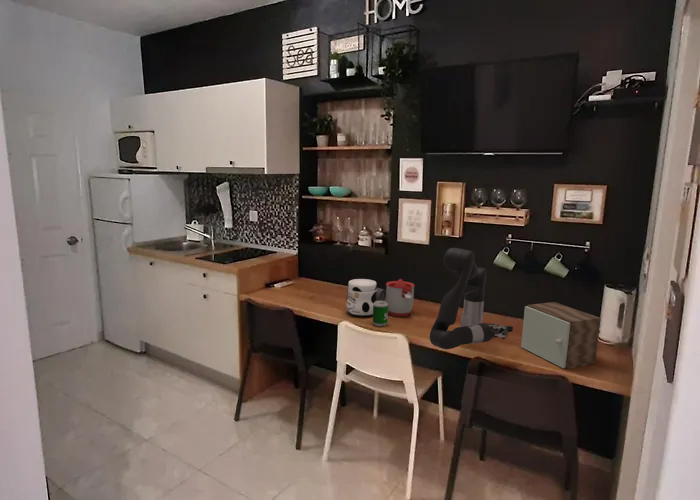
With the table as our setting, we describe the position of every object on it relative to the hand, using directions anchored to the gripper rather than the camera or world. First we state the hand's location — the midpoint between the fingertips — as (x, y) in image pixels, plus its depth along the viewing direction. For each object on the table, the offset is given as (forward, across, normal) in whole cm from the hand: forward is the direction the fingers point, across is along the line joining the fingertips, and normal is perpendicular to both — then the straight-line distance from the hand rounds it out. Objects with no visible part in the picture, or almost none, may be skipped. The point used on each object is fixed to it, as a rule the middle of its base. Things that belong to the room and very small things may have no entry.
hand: (511, 328), depth 183 cm
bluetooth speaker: (-23, +97, +16) cm, 101 cm away
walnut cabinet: (+24, -2, +15) cm, 29 cm away
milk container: (-35, +77, +15) cm, 86 cm away
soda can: (-33, +57, +15) cm, 68 cm away
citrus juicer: (-15, +69, +15) cm, 73 cm away
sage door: (+15, -2, +14) cm, 21 cm away
